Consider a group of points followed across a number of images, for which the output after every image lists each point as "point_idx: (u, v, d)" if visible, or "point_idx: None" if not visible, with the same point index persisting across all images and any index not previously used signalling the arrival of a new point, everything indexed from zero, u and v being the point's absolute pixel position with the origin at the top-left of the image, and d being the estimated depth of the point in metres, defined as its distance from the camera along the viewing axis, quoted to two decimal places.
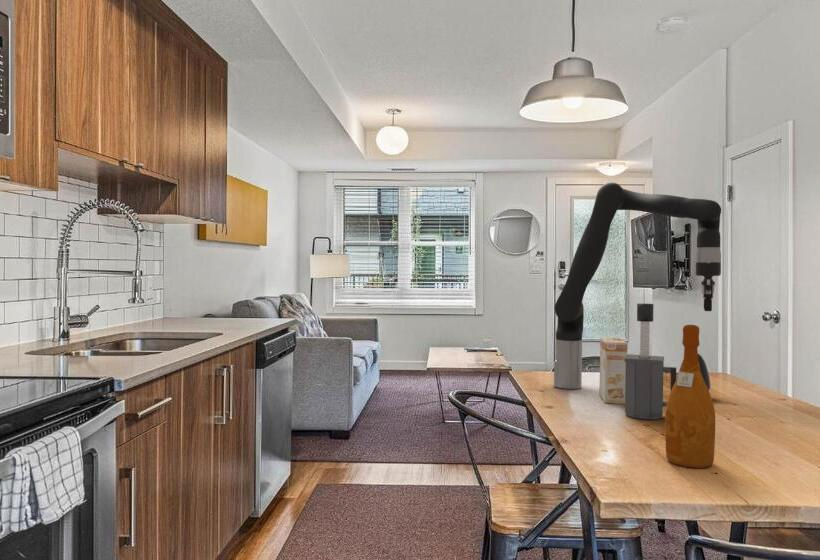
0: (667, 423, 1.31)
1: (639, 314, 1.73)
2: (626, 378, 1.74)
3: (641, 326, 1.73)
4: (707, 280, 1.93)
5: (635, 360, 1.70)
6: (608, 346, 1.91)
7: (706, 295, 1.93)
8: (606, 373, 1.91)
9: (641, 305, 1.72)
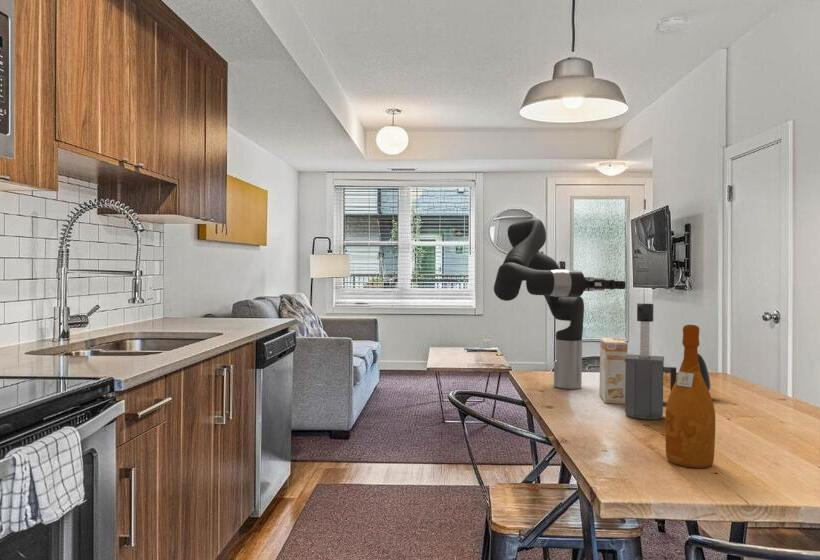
0: (667, 423, 1.31)
1: (639, 314, 1.73)
2: (626, 378, 1.74)
3: (641, 326, 1.73)
4: None
5: (635, 360, 1.70)
6: (608, 346, 1.91)
7: None
8: (606, 373, 1.91)
9: (641, 305, 1.72)
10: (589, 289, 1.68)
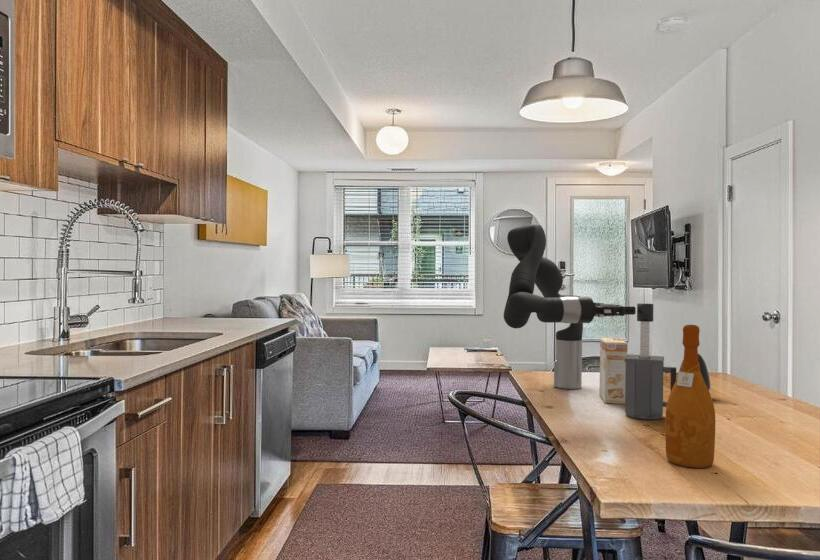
0: (667, 423, 1.31)
1: (639, 314, 1.73)
2: (626, 378, 1.74)
3: (641, 326, 1.73)
4: None
5: (635, 360, 1.70)
6: (608, 346, 1.91)
7: None
8: (606, 373, 1.91)
9: (641, 305, 1.72)
10: (599, 315, 1.70)
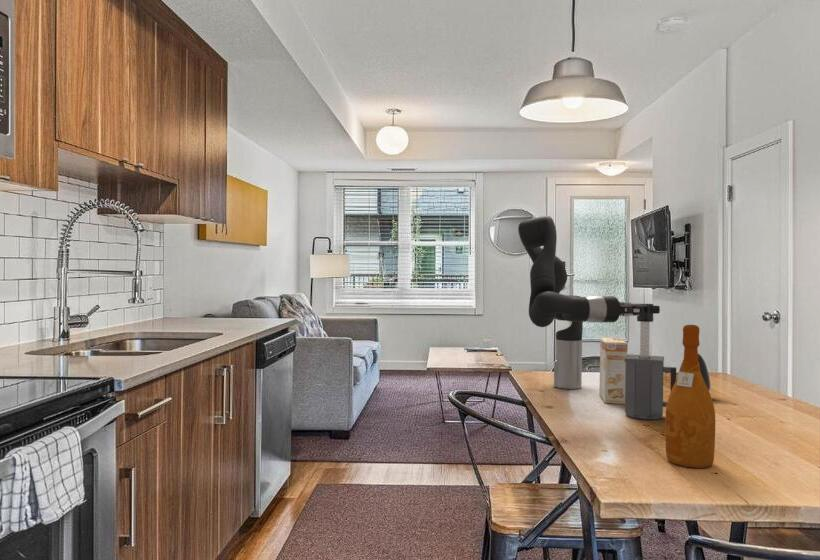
0: (667, 423, 1.31)
1: None
2: (626, 378, 1.74)
3: (641, 326, 1.73)
4: None
5: (635, 360, 1.70)
6: (608, 346, 1.91)
7: None
8: (606, 373, 1.91)
9: None
10: (625, 314, 1.71)
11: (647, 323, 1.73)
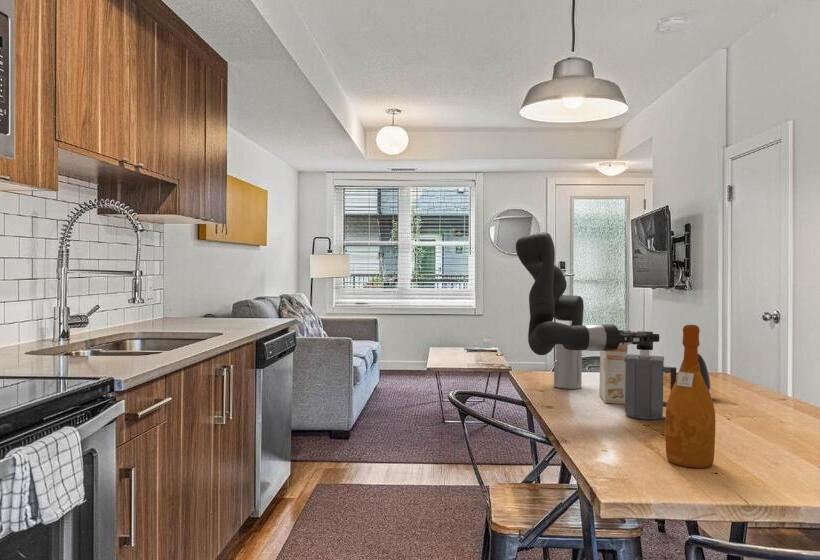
0: (667, 423, 1.31)
1: None
2: (626, 378, 1.74)
3: (641, 354, 1.73)
4: None
5: (635, 360, 1.70)
6: None
7: None
8: (606, 373, 1.91)
9: (641, 333, 1.73)
10: (625, 343, 1.71)
11: (647, 351, 1.73)
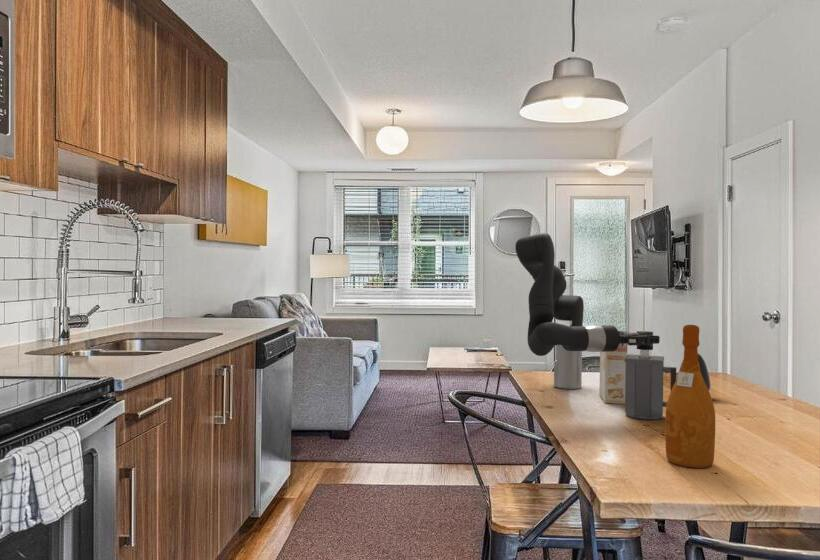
0: (667, 423, 1.31)
1: None
2: (626, 378, 1.74)
3: (641, 354, 1.73)
4: None
5: (635, 360, 1.70)
6: None
7: None
8: (606, 373, 1.91)
9: (641, 333, 1.73)
10: (623, 344, 1.71)
11: (647, 351, 1.73)
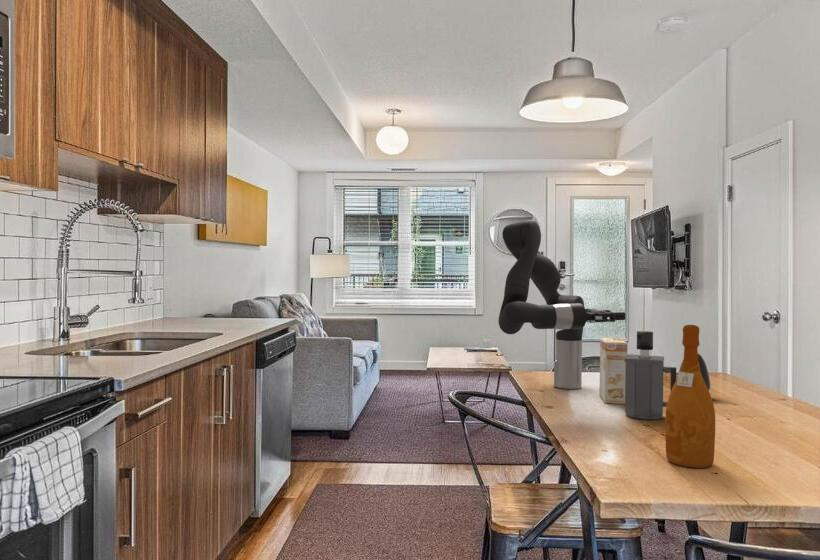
0: (667, 423, 1.31)
1: (639, 342, 1.73)
2: (626, 378, 1.74)
3: (641, 354, 1.73)
4: None
5: (635, 360, 1.70)
6: (608, 346, 1.91)
7: None
8: (606, 373, 1.91)
9: (641, 333, 1.73)
10: (591, 321, 1.76)
11: (647, 351, 1.73)
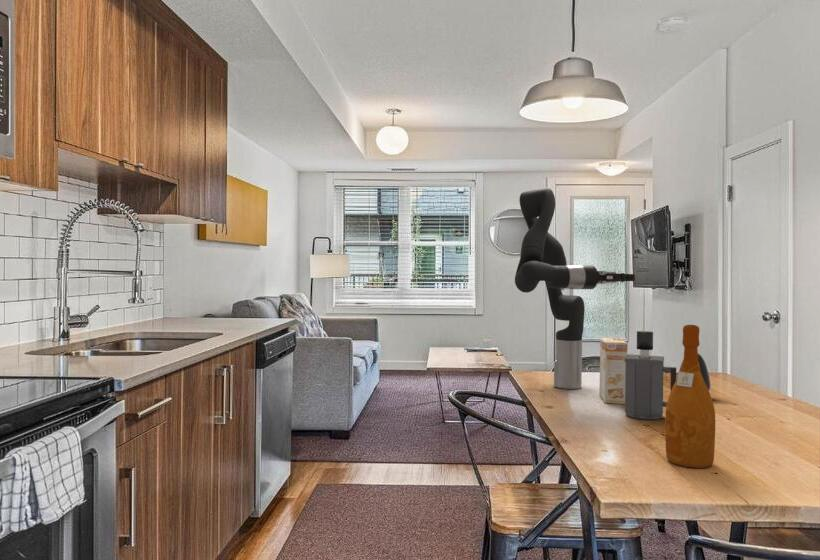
0: (667, 423, 1.31)
1: (639, 342, 1.73)
2: (626, 378, 1.74)
3: (641, 354, 1.73)
4: None
5: (635, 360, 1.70)
6: (608, 346, 1.91)
7: None
8: (606, 373, 1.91)
9: (641, 333, 1.73)
10: (602, 282, 1.87)
11: (647, 351, 1.73)
